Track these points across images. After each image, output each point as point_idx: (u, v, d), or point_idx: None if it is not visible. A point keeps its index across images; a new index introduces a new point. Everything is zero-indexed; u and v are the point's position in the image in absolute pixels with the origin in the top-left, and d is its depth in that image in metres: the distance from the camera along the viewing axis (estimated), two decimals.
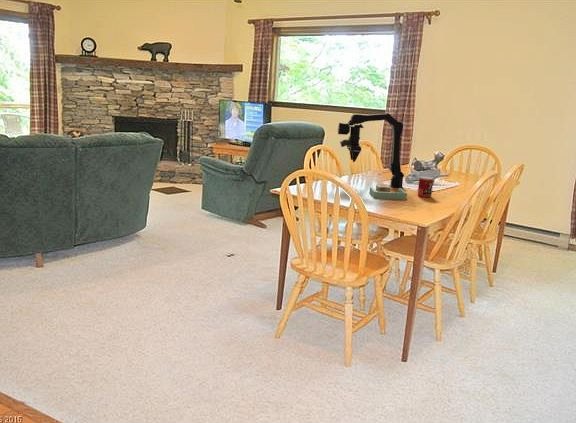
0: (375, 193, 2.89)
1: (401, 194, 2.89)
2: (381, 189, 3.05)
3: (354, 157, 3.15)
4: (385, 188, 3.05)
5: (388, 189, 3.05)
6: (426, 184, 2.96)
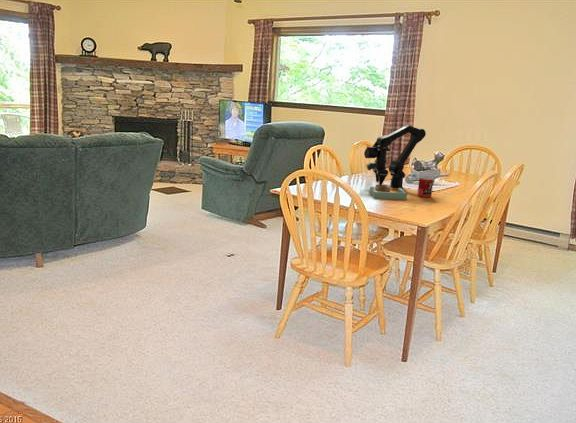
0: (375, 193, 2.89)
1: (401, 194, 2.89)
2: (380, 189, 3.05)
3: (381, 180, 3.15)
4: (385, 188, 3.05)
5: (388, 189, 3.05)
6: (426, 184, 2.96)
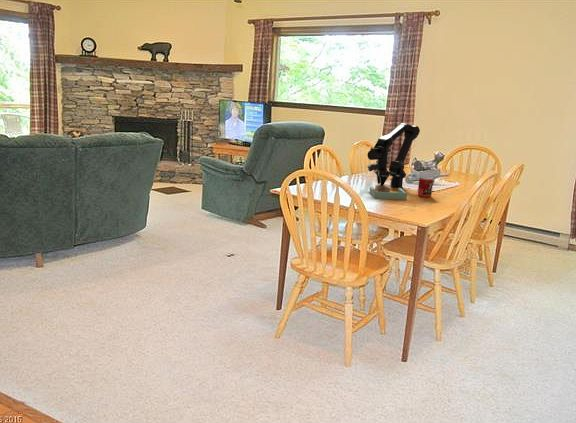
0: (375, 193, 2.89)
1: (401, 194, 2.89)
2: (380, 190, 3.05)
3: (382, 182, 3.11)
4: (385, 188, 3.05)
5: (388, 189, 3.05)
6: (426, 184, 2.96)
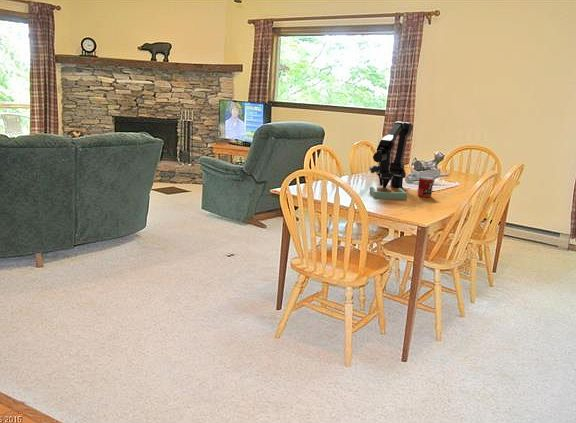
0: (375, 193, 2.89)
1: (401, 194, 2.89)
2: None
3: (384, 184, 3.04)
4: (386, 191, 2.98)
5: None
6: (426, 184, 2.96)
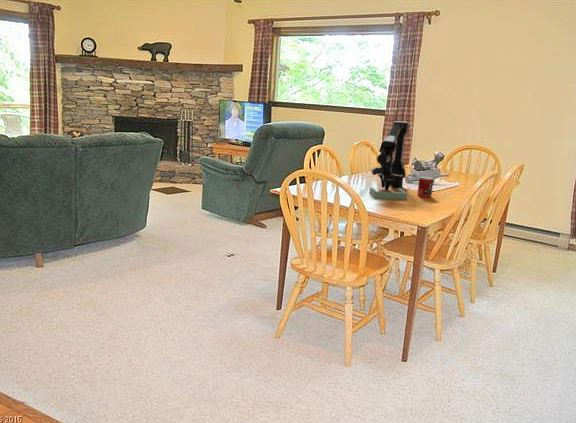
0: (375, 193, 2.89)
1: (401, 194, 2.89)
2: None
3: (386, 186, 2.98)
4: None
5: None
6: (426, 184, 2.96)
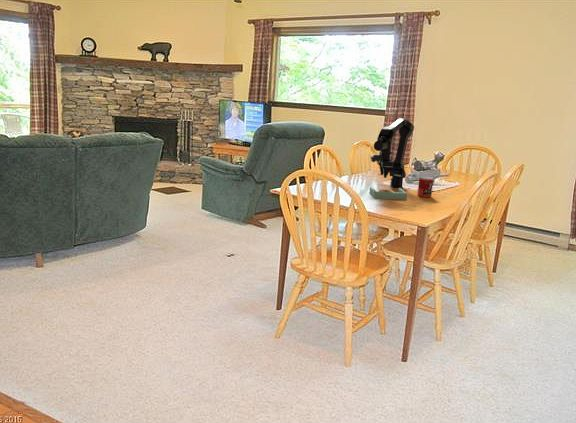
0: (375, 193, 2.89)
1: (401, 194, 2.89)
2: None
3: (385, 173, 3.02)
4: None
5: None
6: (426, 184, 2.96)
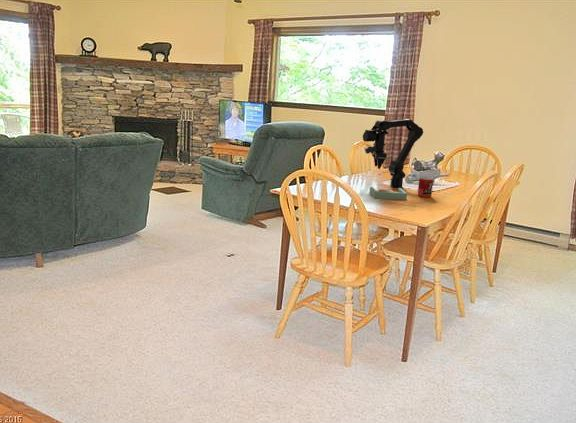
0: (375, 193, 2.89)
1: (401, 194, 2.89)
2: None
3: (379, 164, 3.11)
4: None
5: None
6: (426, 184, 2.96)
